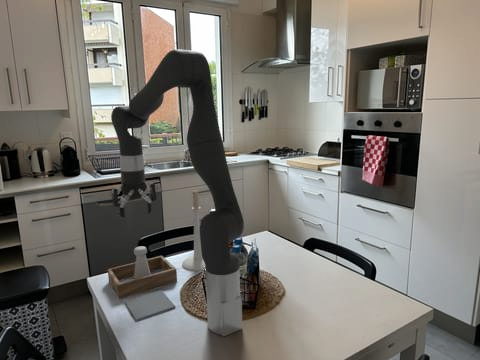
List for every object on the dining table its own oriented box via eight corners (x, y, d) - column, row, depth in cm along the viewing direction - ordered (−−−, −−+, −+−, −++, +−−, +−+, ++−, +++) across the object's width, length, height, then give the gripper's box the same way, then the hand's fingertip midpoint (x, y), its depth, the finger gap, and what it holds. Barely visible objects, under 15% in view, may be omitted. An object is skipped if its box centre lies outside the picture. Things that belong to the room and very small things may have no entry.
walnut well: (177, 282, 122) (176, 268, 121) (119, 299, 112) (117, 285, 111) (162, 267, 134) (161, 255, 133) (108, 282, 123) (107, 269, 122)
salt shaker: (134, 287, 119) (130, 251, 117) (134, 279, 125) (131, 245, 122) (151, 284, 121) (148, 249, 118) (151, 277, 126) (148, 243, 124)
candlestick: (196, 274, 128) (192, 195, 122) (175, 264, 136) (171, 190, 130) (221, 263, 137) (219, 188, 131) (200, 254, 145) (197, 184, 140)
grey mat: (175, 307, 106) (175, 306, 106) (136, 321, 100) (136, 319, 100) (161, 291, 116) (161, 289, 116) (124, 302, 110) (124, 301, 110)
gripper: (113, 172, 107) (117, 222, 110) (157, 167, 115) (160, 214, 118) (107, 168, 113) (111, 216, 117) (149, 164, 121) (152, 209, 124)
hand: (135, 215), depth 117 cm, fingers open, 8 cm apart
